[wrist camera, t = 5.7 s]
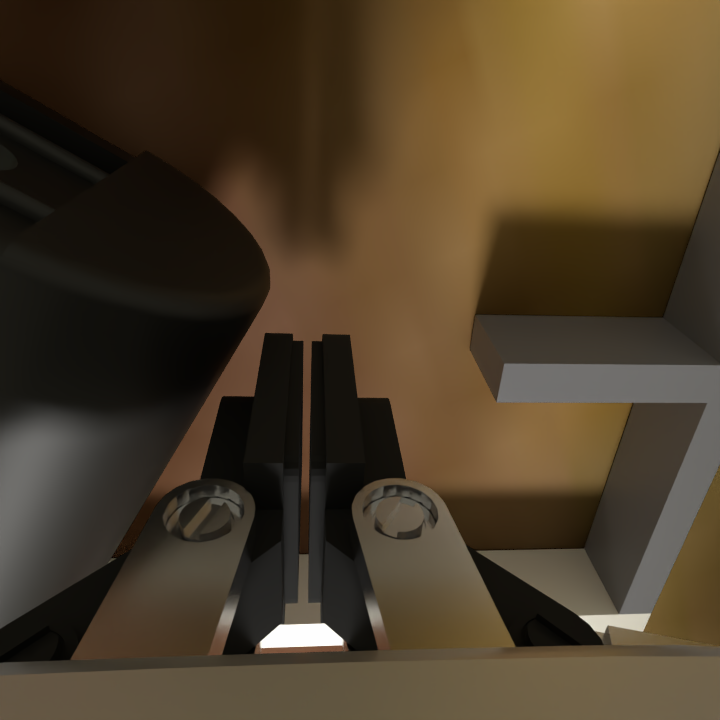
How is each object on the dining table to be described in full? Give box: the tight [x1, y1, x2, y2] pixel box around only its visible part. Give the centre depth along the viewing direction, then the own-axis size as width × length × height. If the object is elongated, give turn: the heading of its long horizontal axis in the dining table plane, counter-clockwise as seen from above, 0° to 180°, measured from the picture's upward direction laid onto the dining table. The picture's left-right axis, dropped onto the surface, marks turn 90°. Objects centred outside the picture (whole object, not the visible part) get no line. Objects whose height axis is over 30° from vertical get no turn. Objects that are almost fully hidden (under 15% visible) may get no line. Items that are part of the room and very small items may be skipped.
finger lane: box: [108, 153, 720, 648], centre depth 11 cm, size 28×18×6 cm, turn 87°
